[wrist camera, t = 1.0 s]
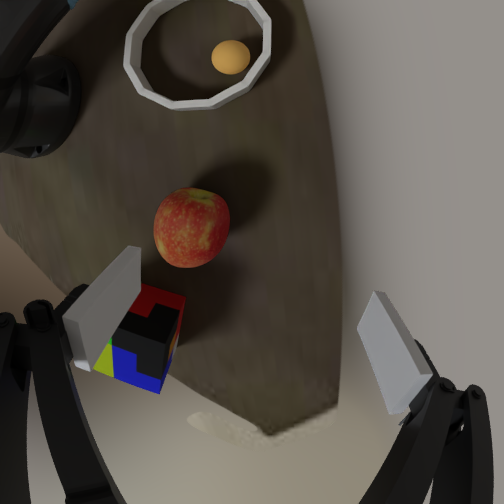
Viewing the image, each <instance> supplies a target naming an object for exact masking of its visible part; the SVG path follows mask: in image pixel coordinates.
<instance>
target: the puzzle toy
mask: <svg viewBox="0 0 504 504" xmlns="http://www.w3.org/2000/svg"><path fill="white" fill-rule="evenodd" d="M185 300H186V297H184V296H181V295H178V294H175V293H171V292H168V291H165V290H162V289H159V288H156V287H153V286H149V285H146V284H143V283H141V291H140V293H139V294H138V296H137V297H136V299H135V300H134V302H133V304H132V305H131V307H130V308H129V310H128V311H127V313H126V314H125V316H124V318H123V319H122V321H121V322H120V324H119V326H118V327H117V329H116V330H115V332H114V334H113V335H112V337H111V338H110V340H109V342H108V343H107V345H106V347H105V348H104V350H103V352H102V353H101V355H100V357H99V359H98V360H97V362H96V364H95V365H94V367H93V369H94V370H97V371H99V372H101V373H104V374H106V375H108V376H111V377H113V378H116V379H118V380H121V381H123V382H126V383H129V384H131V385H134V386H137V387H139V388H142V389H145V390H148V391H151V392H154V393H157V394H160V391H161V388H162V386H163V383H164V380H165V377H166V375H167V372H168V369H169V367H170V364H171V361H172V358H173V356H174V353H175V350H176V348H177V343H178V337H179V332H180V326H181V321H182V316H183V311H184V305H185Z"/></svg>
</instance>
